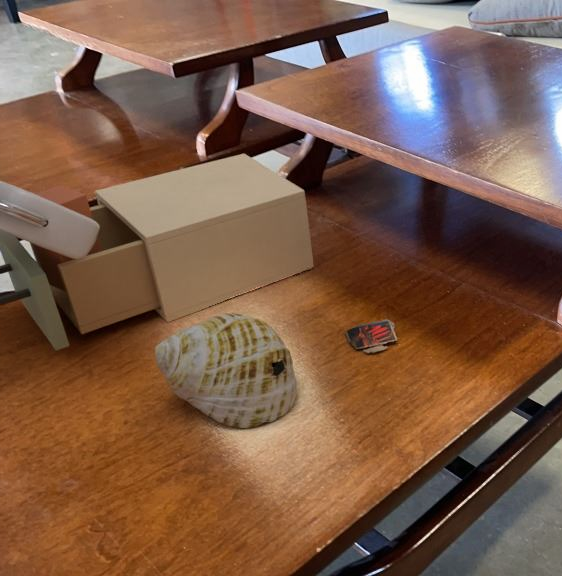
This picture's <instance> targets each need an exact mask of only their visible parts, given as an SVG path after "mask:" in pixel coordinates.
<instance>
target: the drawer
mask: <svg viewBox="0 0 562 576" xmlns="http://www.w3.org/2000/svg"><path fill="white" fill-rule="evenodd" d="M89 207H90V206H89ZM90 211H91V214H92V218H93V220H94V221H96V222H97V223H98V224H99V226H100V230H99V232H98V238H99V242H100V245H101V249H102V251H101V252H98V253H95V254H91V255H88V256H86V257H85V258H84V259H82V260H77V259H74V260H71V261H68V262H64V263H61V264H58V268H59V271H60V274H61V278H62V281H63V284H64V287H65V290H66V292H65V291H62V290H60V289H58V288H56V287H54V286H51V285H49V283H48V280H47V277H46V274H45V273H44V271H43V269H42V267H41V264H40V261H39V258H38V255H37V252H36V249H35V246H34V244H33V243H30V242H29V245H30V247H31V251H32V254H33V256H34V258H33V256H32V255H31V254H30V253H29V252H28V250H27V249H26V248H25V246H24V245H23V244H22V243H21V241H20V240H19V238H18V237H15V236H12V235H10V234H7V233H5V232H2V231H0V253H1V256H2V259H3V262H4V264H2V265H0V275H3V274H7V273H8V276H9V278H10V281H11V284H12V286H13V289H14V292H11V293H7V294H4V295H1V296H0V307H1V306H4V305H7V304H10V303H14V302H17V301H20V303H21V304H22V305H23V307H24V308H25V310H26V311H27V313H29V315H30V316H31V318H32V319H33V321H34V322H35V323H36V325H37V326H38V327H39V329H40V331H41V332H42V333H43V335H44V336H45V337H46V339H47V340H48V342H49V343H50V344H51V347H53V349H54V350H55V351H59V350H62V349H65V348H68V347H70V342H69V339H68V336H67V333H66V330H65V327H64V324H63V321H62V318H61V315H60V312H59V309H58V307H57V305H58V306H59V308H60V309H61V310H62V312H63V313H64V314H65V315H66V317H67V318H68V319H69V320H70V322H71V323H72V325H73V326H74V327H75V328H76V329H77V330H78V332H79V333H80V335H85V334H86V333H87V334H88V333H90V332H92V331H95V330H98V329H101V328H104V327H107V326H110V325H113V324H115V323H118V322H121V321H125V320H127V319H129V318H132V317H136V316H138V315H141V314H144V313H146V312H150V311H153V310H155V308H158V307H161V305H160V301H159V297H158V293H157V289H156V285H155V282H154V278H153V274H152V270H151V266H150V262H149V258H148V254H147V250H146V246H145V241H143V240H142V239H141V238H140V237H139V236H138V235H137V234H136V233H135V232H134V231H133V230H131V229H130V228H129V227H128V226H127V225H126V224H125V223H124V222H123V221H122V220H121V219H120V218H118V217H117V216H116V215H115V214H114V213H113V212H112V211H111V210H110V209H109V208H108V207H107V206H105V205H104V204H102V205H98V204H97V205H93V206H91V207H90Z"/></svg>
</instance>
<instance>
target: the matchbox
mask: <svg viewBox="0 0 562 576" xmlns="http://www.w3.org/2000/svg"><path fill="white" fill-rule="evenodd" d="M395 328H396V326H395V323H394V322H393V321H392V320H390V319H387V318H385V319H382V320H375V321H373V322H372V321H371V322H369V323H365V324H363V323H361V324H357V325H355V326H354V327H352V328H349V329H346V330H345V334H346V337H345V338H346V340H347V341H348V342H349V343H350V344H351V346H353V347H354V349H355V350H357V349H362V351H363V353H366V354H371V353H372V354H375V353H377V352H382V351H384V350H386V349H388V348H389V346H388V345H386V344H387V343H391V342H394V341H395V342H396V341H398V337H397V336H396V332H395V330H394V329H395ZM384 345H385V346H384ZM368 347H369V348H368ZM365 348H367V349H365Z"/></svg>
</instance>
